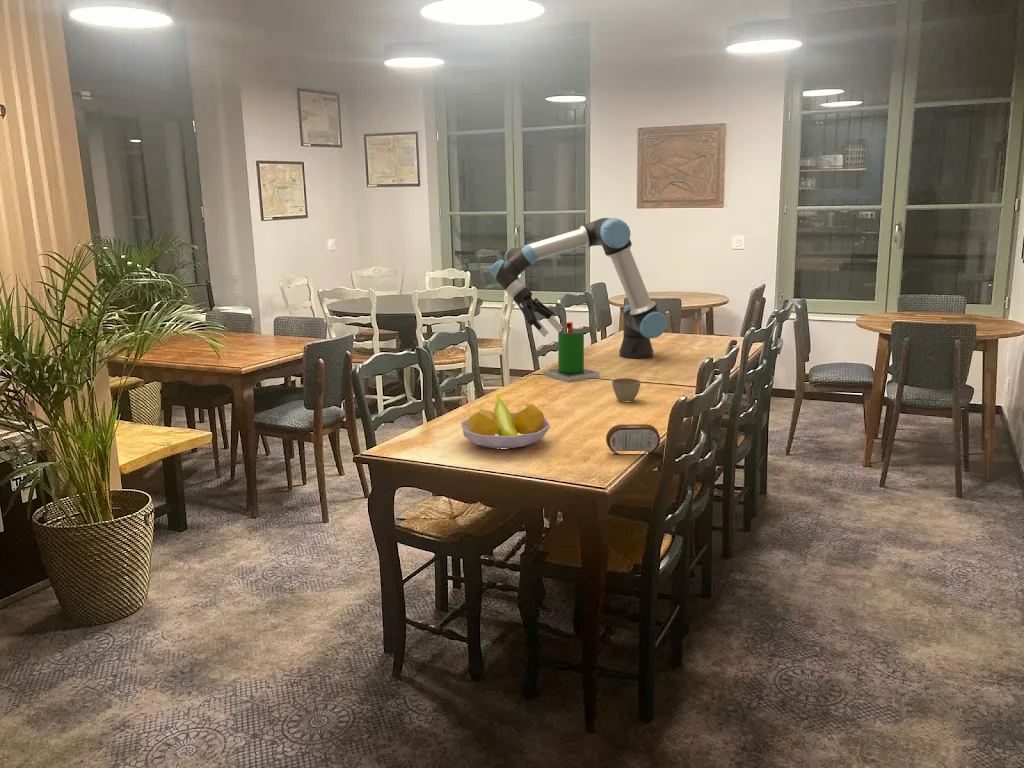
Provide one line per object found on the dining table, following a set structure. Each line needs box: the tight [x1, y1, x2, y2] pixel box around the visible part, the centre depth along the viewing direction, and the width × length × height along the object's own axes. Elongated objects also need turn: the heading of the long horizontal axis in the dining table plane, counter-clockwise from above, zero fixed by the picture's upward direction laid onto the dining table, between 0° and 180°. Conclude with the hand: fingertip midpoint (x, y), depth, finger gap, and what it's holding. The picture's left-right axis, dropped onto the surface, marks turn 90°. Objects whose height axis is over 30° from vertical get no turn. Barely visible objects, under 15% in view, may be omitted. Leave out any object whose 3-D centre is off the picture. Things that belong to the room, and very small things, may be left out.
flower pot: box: [611, 377, 642, 402], centre depth 294 cm, size 10×10×7 cm
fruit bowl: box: [460, 393, 551, 449], centre depth 247 cm, size 28×27×11 cm
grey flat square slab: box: [543, 367, 601, 383], centre depth 335 cm, size 16×16×2 cm
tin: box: [605, 423, 661, 455], centre depth 234 cm, size 15×3×8 cm, turn 92°
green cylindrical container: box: [557, 321, 585, 373], centre depth 333 cm, size 10×9×20 cm
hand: (553, 332), depth 335 cm, fingers open, 13 cm apart
